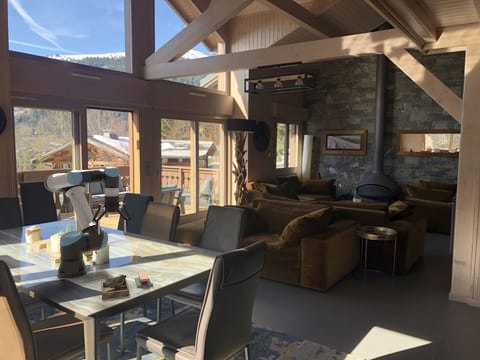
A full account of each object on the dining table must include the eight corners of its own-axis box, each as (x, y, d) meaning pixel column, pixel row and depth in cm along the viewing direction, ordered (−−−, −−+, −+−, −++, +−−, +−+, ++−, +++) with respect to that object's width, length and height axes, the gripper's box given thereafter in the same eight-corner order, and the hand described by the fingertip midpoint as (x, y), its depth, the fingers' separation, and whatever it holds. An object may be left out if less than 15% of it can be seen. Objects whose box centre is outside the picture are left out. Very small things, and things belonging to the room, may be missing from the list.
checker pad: (140, 281, 195) (140, 279, 195) (138, 274, 205) (138, 272, 205) (149, 280, 197) (149, 278, 196) (146, 273, 207) (146, 271, 207)
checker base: (137, 287, 194) (137, 282, 194) (134, 279, 205) (134, 274, 205) (153, 285, 197) (152, 280, 197) (149, 278, 208) (149, 273, 208)
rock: (125, 275, 198) (127, 273, 190) (126, 287, 197) (129, 285, 188) (102, 278, 193) (104, 277, 185) (103, 290, 192) (105, 289, 183)
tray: (102, 299, 180) (102, 293, 179) (101, 287, 194) (101, 282, 194) (129, 295, 184) (129, 290, 184) (126, 284, 199) (126, 279, 198)
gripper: (86, 196, 198) (87, 236, 200) (135, 195, 206) (136, 233, 209) (87, 194, 205) (88, 232, 207) (135, 193, 213) (135, 230, 216)
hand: (112, 233), depth 208 cm, fingers open, 13 cm apart
